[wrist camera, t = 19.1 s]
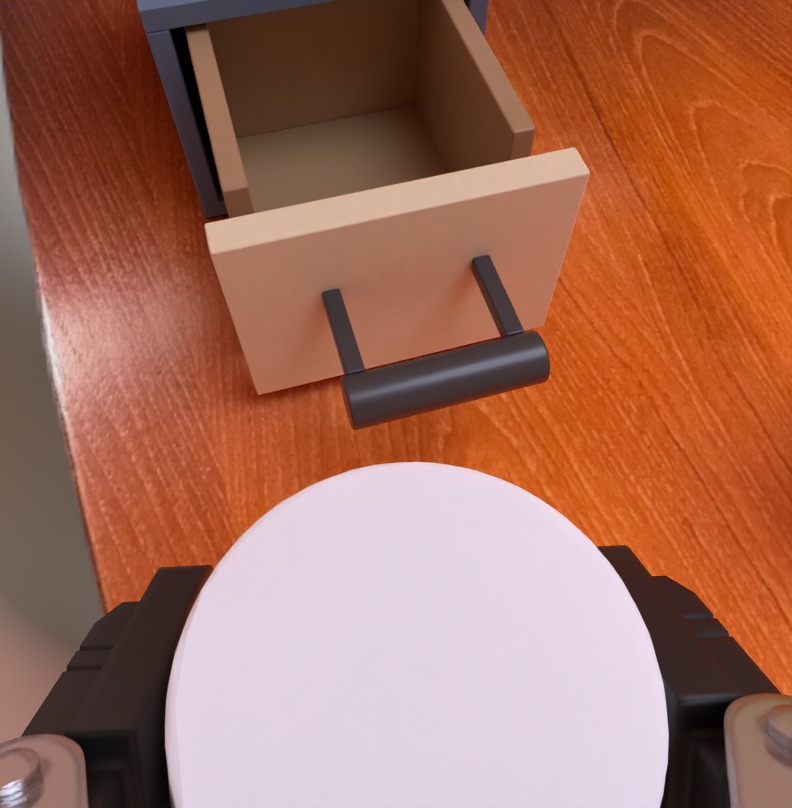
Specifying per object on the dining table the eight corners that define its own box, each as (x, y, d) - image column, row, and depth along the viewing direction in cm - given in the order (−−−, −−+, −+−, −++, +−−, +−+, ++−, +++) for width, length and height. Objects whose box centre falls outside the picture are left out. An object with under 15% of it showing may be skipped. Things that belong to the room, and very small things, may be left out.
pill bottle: (582, 868, 13) (930, 970, 5) (299, 981, 12) (102, 1357, 4) (477, 590, 16) (580, 332, 7) (237, 667, 15) (36, 479, 6)
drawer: (594, 430, 26) (665, 295, 19) (283, 513, 24) (239, 398, 17) (439, 107, 34) (449, -65, 28) (203, 153, 33) (153, -18, 26)
